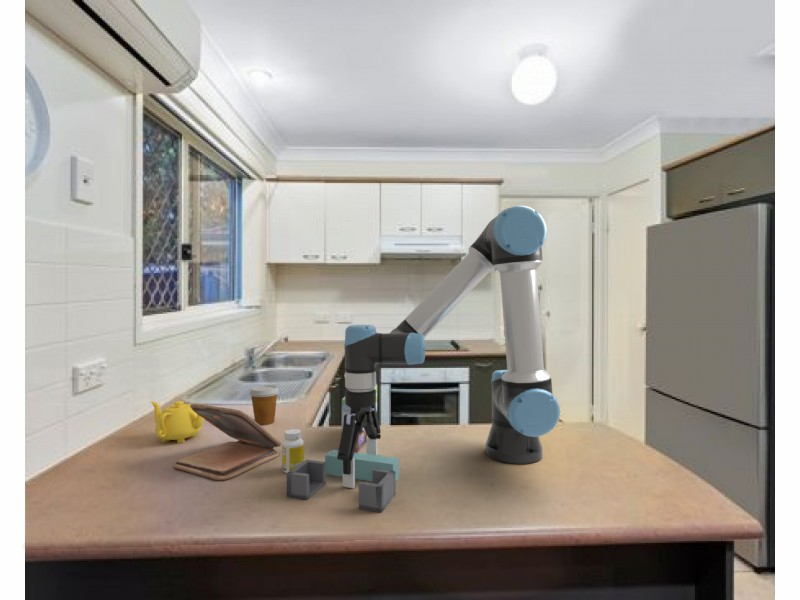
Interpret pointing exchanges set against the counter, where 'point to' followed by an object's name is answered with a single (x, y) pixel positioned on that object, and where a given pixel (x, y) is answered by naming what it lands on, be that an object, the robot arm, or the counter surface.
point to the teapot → (177, 422)
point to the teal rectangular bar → (361, 465)
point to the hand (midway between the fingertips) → (360, 475)
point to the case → (230, 445)
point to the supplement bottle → (292, 450)
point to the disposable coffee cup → (264, 403)
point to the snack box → (363, 435)
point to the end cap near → (377, 491)
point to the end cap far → (305, 479)
